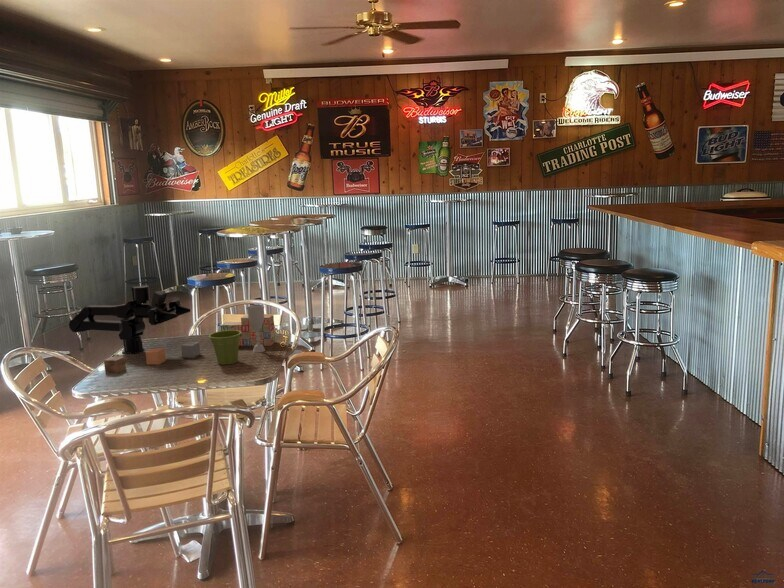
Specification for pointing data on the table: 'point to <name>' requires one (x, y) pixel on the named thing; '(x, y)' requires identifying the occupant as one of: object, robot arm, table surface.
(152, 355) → the terracotta cube
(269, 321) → the stack of blocks
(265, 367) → the table surface
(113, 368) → the walnut cube
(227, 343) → the plant pot
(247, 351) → the table surface
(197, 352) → the slate cube
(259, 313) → the chalice
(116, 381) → the table surface
